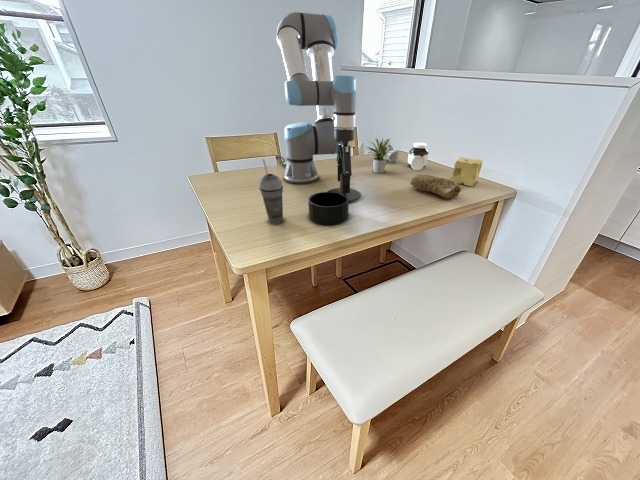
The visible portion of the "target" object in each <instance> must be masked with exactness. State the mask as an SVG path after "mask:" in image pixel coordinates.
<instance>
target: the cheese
mask: <svg viewBox="0 0 640 480" xmlns="http://www.w3.org/2000/svg"><path fill="white" fill-rule="evenodd" d="M483 161H484V160H483V159H480V158H479V159H478V158H470V157H463V156H460V157H459V158H458V159H457V160H456V161H455V162H454V166H453V171H452V174H451V179H450V180H452V181H453V182H455V183H457V184H459V185H464V186H468V187H473V186H474V185H475V184H476V182H477V180H478V178H479V176H480V173H481V170H482V165H483Z"/></svg>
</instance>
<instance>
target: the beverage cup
mask: <svg viewBox="0 0 640 480" xmlns="http://www.w3.org/2000/svg"><path fill="white" fill-rule="evenodd" d="M262 162H263V167H264V170H265V174H264V175H262V177H261V178H260V181H259V191H260V194H261V196H262V200H263V205H264V208H265V212H266V216H267V220H268V223H270V224H271V225H272V224H273V225H278V224H280V223H282V222H283V221H284V220H283V218H284V211H283V210H284V209H283V192H284V185H283V182H282V180H281V179H280V177H279V176H277V175H276V174H274V173H269V171H268V168H267V164H266V160H265V158H262Z"/></svg>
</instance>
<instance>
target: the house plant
mask: <svg viewBox="0 0 640 480" xmlns="http://www.w3.org/2000/svg"><path fill="white" fill-rule="evenodd" d="M366 141H368V142H369V143H371V144H372V145H373V147H374V148H373V147H369V146H365V148H366V150H368V152H367V155H369V154H371V153H372V154H373V155H376V156H377V157H375V156H374V157H372V167H373V172H374V173H376V174H383V173H384V172H385V169H386V165H387V162H388V161H387V159H386V158H383V157H384V156H385V154H387V153H389V152H386V151H388V150H386V149H387V148H388V147H389V146H390V145H392V142H391V138H388V139H385V140H384V138H383V137H382V138H381V141H380V140H379V139H378V138H377V137H375V138H374V141H375V142H376V144H375V143H374V142H373V141H371V140H367V139H366Z"/></svg>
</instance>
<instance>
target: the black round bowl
mask: <svg viewBox="0 0 640 480" xmlns="http://www.w3.org/2000/svg"><path fill="white" fill-rule="evenodd" d="M307 203H308V216H309V220H310V221H311V222H312V223H314V224H317V225H320V226H336V225H341V224H343V223H345V222H346V221H347V220H348V219H349V206H350V205H349V203H350V202H349V199H348V197H347V196H345V195H344V194H341V193H337V192H327V191H321V192H316V193H313V194H311V195H310V196H309V197H308V202H307Z"/></svg>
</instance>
